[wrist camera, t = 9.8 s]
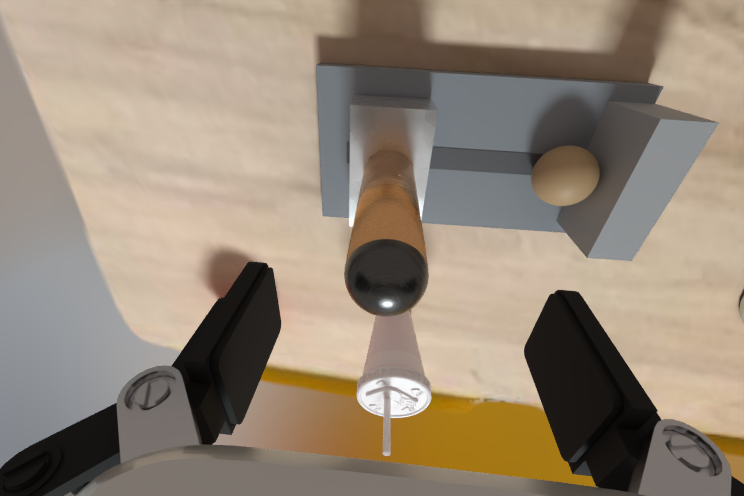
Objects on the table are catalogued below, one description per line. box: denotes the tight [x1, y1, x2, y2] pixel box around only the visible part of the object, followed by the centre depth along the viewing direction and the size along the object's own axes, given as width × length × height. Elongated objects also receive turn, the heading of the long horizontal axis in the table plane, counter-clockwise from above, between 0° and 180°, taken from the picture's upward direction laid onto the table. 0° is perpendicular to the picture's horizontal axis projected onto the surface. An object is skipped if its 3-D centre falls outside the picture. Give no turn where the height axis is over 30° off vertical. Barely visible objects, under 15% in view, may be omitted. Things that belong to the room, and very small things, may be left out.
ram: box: [344, 95, 438, 317], centre depth 17 cm, size 5×8×15 cm, turn 177°
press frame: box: [316, 63, 719, 261], centre depth 22 cm, size 22×11×6 cm, turn 87°
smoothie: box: [357, 310, 431, 456], centre depth 29 cm, size 6×6×14 cm
